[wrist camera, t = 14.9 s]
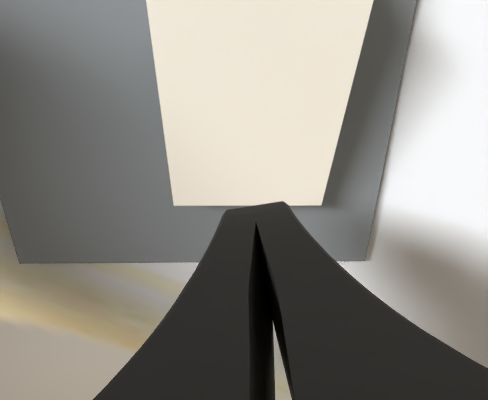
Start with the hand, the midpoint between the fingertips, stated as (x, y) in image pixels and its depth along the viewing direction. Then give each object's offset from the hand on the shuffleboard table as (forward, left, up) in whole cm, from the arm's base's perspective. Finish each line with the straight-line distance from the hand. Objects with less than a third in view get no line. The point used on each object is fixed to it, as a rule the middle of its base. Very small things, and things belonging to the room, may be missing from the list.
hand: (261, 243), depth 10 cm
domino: (0, -2, -6) cm, 6 cm away
